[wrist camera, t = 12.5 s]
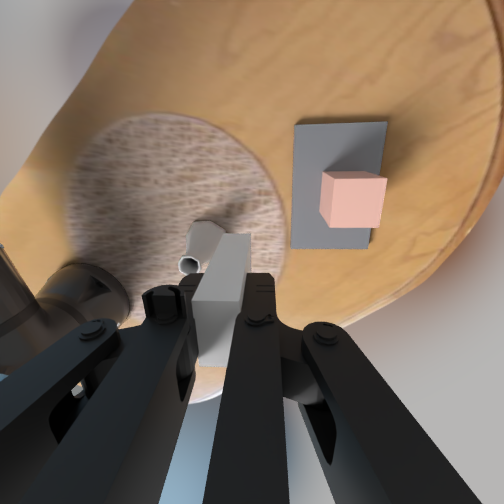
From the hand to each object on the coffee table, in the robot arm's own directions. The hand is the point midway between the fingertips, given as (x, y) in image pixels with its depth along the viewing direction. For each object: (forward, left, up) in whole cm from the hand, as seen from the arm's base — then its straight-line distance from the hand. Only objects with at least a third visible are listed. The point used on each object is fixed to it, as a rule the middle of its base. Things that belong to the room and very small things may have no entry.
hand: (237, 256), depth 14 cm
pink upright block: (+12, -1, -26) cm, 29 cm away
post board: (+11, -1, -27) cm, 29 cm away
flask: (-9, -9, -27) cm, 30 cm away
